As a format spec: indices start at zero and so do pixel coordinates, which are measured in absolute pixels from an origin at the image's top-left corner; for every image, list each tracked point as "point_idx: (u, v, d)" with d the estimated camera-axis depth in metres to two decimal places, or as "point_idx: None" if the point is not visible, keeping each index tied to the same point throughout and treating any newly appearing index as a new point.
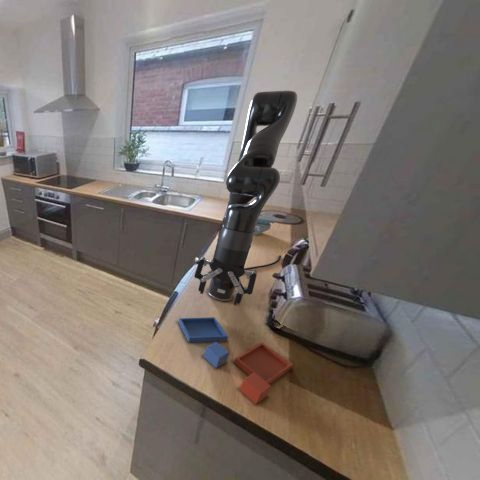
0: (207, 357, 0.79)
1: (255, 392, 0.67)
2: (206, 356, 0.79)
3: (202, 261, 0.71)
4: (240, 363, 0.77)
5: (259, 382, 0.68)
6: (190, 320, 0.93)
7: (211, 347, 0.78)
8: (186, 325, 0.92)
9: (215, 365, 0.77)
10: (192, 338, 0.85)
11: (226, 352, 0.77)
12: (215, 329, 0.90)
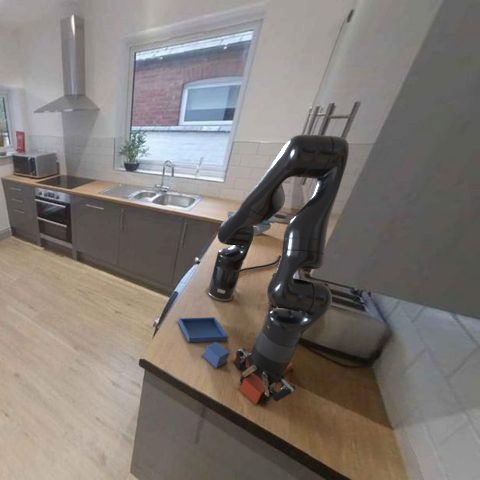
0: (207, 357, 0.79)
1: (255, 392, 0.67)
2: (206, 356, 0.79)
3: (239, 353, 0.70)
4: None
5: (259, 382, 0.68)
6: (190, 320, 0.93)
7: (211, 347, 0.78)
8: (186, 325, 0.92)
9: (215, 365, 0.77)
10: (192, 338, 0.85)
11: (226, 352, 0.77)
12: (215, 329, 0.90)
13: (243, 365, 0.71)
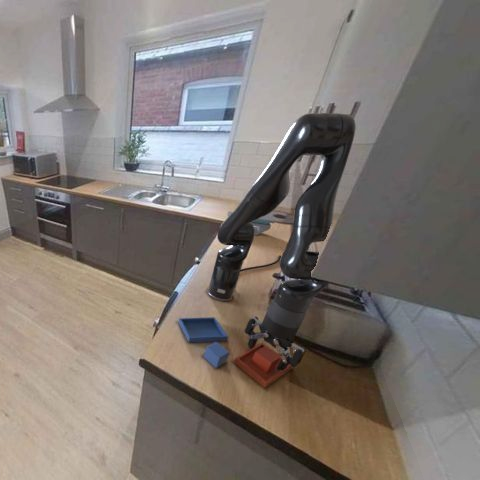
0: (207, 357, 0.79)
1: (265, 363, 0.74)
2: (206, 356, 0.79)
3: (252, 321, 0.76)
4: (240, 363, 0.77)
5: (269, 354, 0.75)
6: (190, 320, 0.93)
7: (211, 347, 0.78)
8: (186, 325, 0.92)
9: (215, 365, 0.77)
10: (192, 338, 0.85)
11: (226, 352, 0.77)
12: (215, 329, 0.90)
13: (251, 330, 0.79)
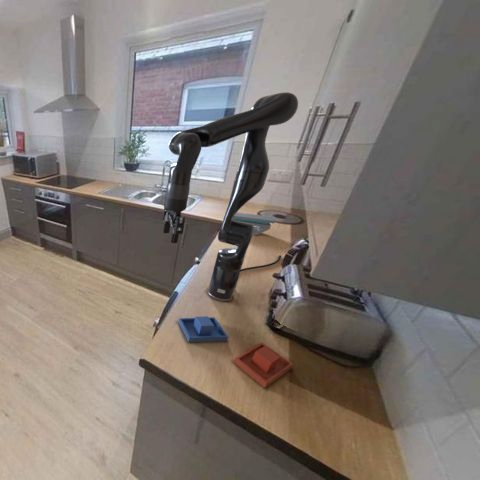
0: (195, 326, 0.90)
1: (265, 363, 0.74)
2: (194, 325, 0.90)
3: None
4: (240, 363, 0.77)
5: (269, 354, 0.75)
6: (190, 320, 0.93)
7: (199, 318, 0.89)
8: (186, 325, 0.92)
9: (198, 333, 0.87)
10: (192, 338, 0.85)
11: (211, 324, 0.86)
12: (215, 329, 0.90)
13: None
